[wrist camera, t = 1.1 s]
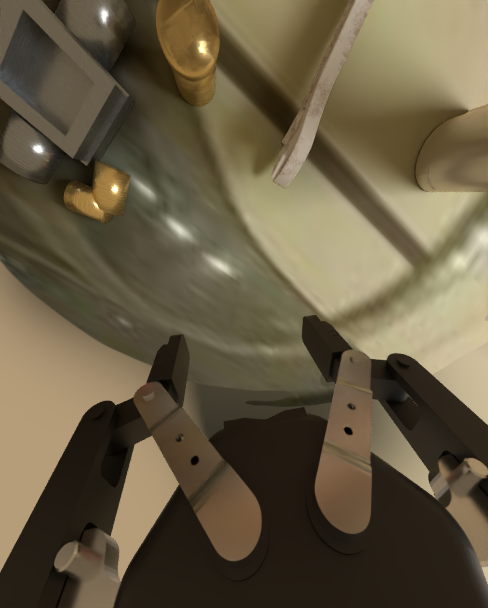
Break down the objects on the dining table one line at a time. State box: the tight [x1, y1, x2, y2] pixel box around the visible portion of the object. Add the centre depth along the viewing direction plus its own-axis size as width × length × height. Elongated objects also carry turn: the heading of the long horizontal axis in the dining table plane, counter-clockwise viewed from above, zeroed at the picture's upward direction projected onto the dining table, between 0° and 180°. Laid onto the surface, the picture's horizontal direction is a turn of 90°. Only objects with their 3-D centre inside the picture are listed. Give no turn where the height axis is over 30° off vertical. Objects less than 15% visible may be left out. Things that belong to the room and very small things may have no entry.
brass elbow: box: [64, 160, 130, 224], centre depth 25 cm, size 7×4×6 cm
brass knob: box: [156, 0, 220, 107], centre depth 19 cm, size 5×5×8 cm
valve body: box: [0, 0, 136, 184], centre depth 19 cm, size 19×13×5 cm
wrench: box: [272, 0, 374, 188], centre depth 21 cm, size 8×2×30 cm
